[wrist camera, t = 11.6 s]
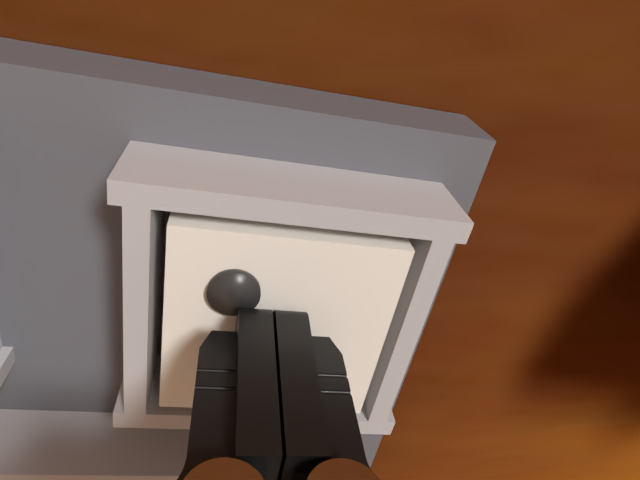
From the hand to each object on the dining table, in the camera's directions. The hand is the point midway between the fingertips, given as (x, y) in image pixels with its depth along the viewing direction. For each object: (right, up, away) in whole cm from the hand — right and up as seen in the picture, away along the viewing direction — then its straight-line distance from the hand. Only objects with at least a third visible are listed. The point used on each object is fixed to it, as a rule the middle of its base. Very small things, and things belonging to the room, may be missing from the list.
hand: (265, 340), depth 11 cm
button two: (0, +1, +2) cm, 2 cm away
